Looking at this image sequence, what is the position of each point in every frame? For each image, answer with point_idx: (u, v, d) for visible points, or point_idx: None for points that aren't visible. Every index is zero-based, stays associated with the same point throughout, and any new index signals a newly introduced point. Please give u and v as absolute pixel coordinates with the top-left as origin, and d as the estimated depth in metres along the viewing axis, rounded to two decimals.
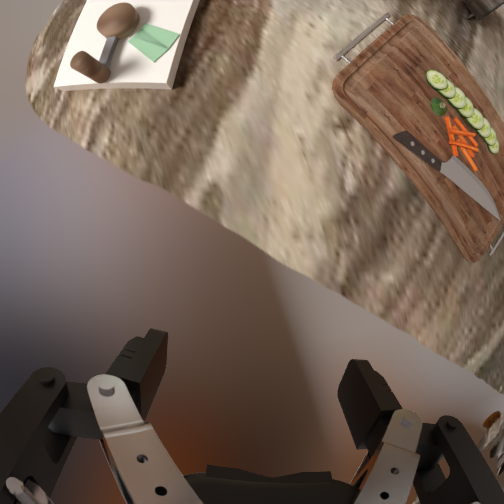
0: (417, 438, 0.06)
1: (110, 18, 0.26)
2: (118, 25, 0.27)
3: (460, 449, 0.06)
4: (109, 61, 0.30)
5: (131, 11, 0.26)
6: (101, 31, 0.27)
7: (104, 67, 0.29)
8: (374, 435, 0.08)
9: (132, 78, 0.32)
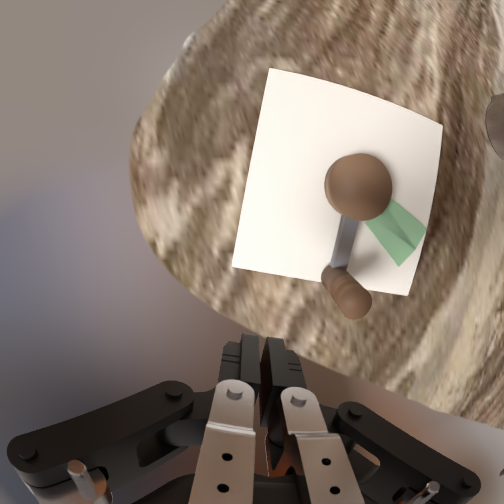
0: (302, 418, 0.07)
1: (355, 185, 0.24)
2: (370, 207, 0.24)
3: (380, 436, 0.07)
4: None
5: (387, 183, 0.24)
6: (344, 209, 0.24)
7: None
8: (271, 412, 0.09)
9: (370, 284, 0.29)
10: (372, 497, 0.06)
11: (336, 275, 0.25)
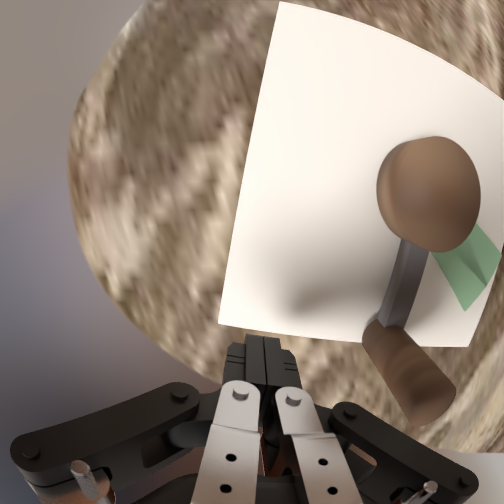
0: (296, 418, 0.07)
1: (434, 191, 0.12)
2: (452, 230, 0.12)
3: (376, 436, 0.07)
4: None
5: (475, 190, 0.12)
6: (415, 234, 0.12)
7: None
8: (266, 411, 0.09)
9: (427, 339, 0.17)
10: (369, 497, 0.06)
11: (395, 345, 0.13)
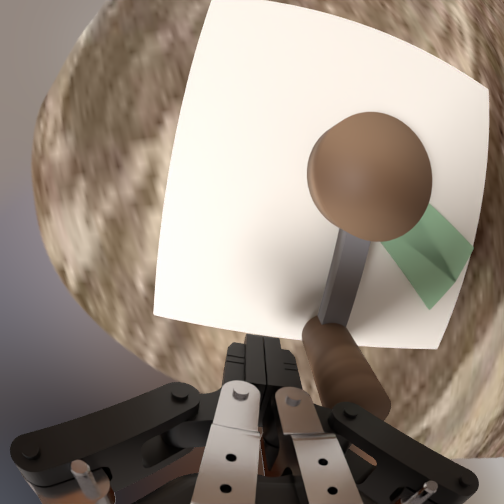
0: (296, 418, 0.07)
1: (366, 172, 0.12)
2: (395, 216, 0.12)
3: (376, 436, 0.07)
4: None
5: (424, 170, 0.12)
6: (344, 221, 0.12)
7: None
8: (266, 411, 0.09)
9: (384, 339, 0.17)
10: (369, 497, 0.06)
11: (327, 345, 0.13)
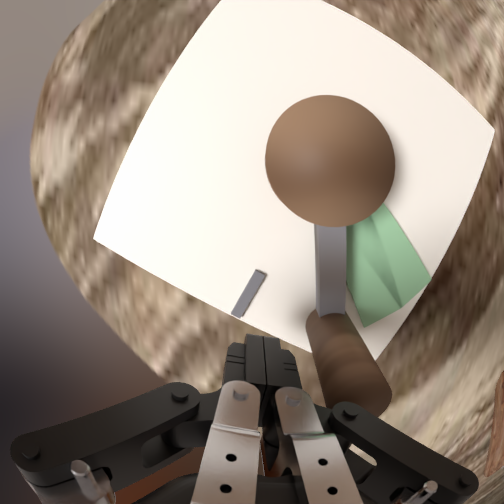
0: (296, 418, 0.07)
1: (318, 160, 0.12)
2: (361, 195, 0.12)
3: (376, 437, 0.07)
4: None
5: (381, 139, 0.11)
6: (308, 214, 0.12)
7: None
8: (266, 411, 0.09)
9: (307, 341, 0.17)
10: (369, 497, 0.06)
11: (323, 337, 0.13)
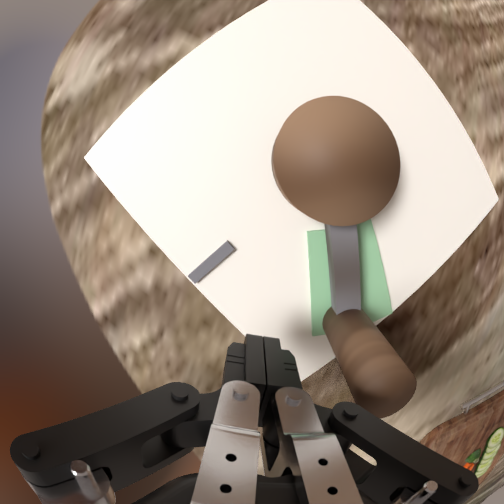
0: (296, 418, 0.07)
1: (326, 161, 0.12)
2: (370, 192, 0.12)
3: (376, 436, 0.07)
4: None
5: (385, 136, 0.12)
6: (320, 215, 0.13)
7: None
8: (266, 411, 0.09)
9: (252, 330, 0.17)
10: (369, 497, 0.06)
11: (343, 334, 0.13)
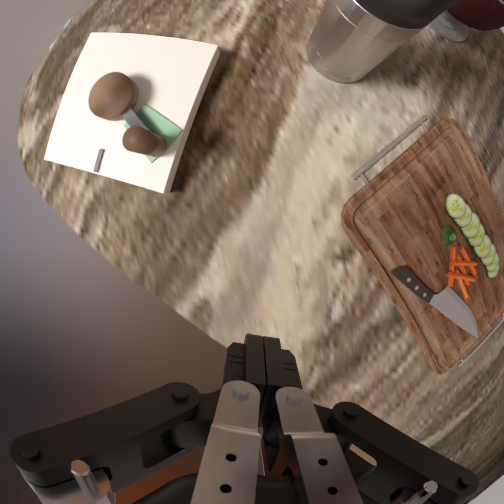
0: (296, 418, 0.07)
1: (104, 98, 0.27)
2: (122, 95, 0.27)
3: (376, 436, 0.07)
4: (149, 129, 0.30)
5: (119, 75, 0.27)
6: (110, 114, 0.28)
7: None
8: (266, 411, 0.09)
9: (127, 177, 0.33)
10: (369, 497, 0.06)
11: None
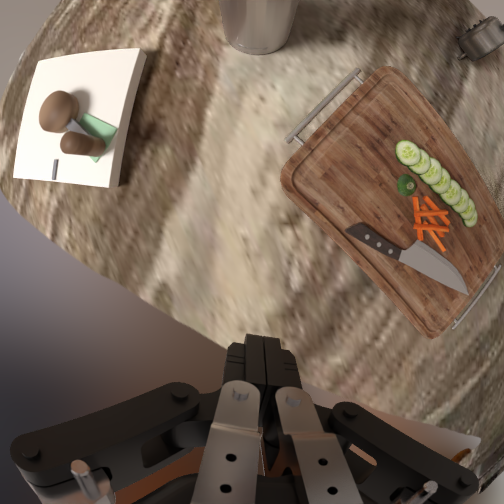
0: (296, 418, 0.07)
1: (50, 115, 0.29)
2: (64, 109, 0.29)
3: (376, 436, 0.07)
4: (89, 134, 0.31)
5: (60, 93, 0.28)
6: (56, 127, 0.29)
7: (93, 136, 0.30)
8: (266, 411, 0.09)
9: (78, 179, 0.34)
10: (369, 497, 0.06)
11: None
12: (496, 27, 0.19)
